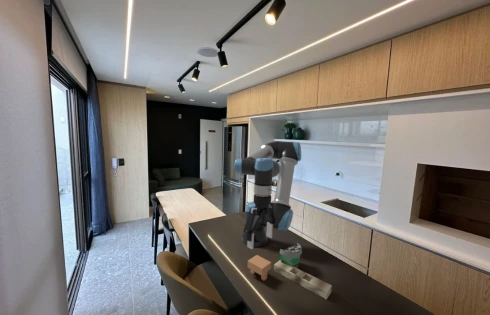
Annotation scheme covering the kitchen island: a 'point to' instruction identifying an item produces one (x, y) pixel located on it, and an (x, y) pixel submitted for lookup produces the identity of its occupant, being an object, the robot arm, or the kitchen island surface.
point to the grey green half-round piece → (291, 255)
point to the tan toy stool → (259, 266)
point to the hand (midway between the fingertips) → (260, 242)
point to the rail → (303, 279)
